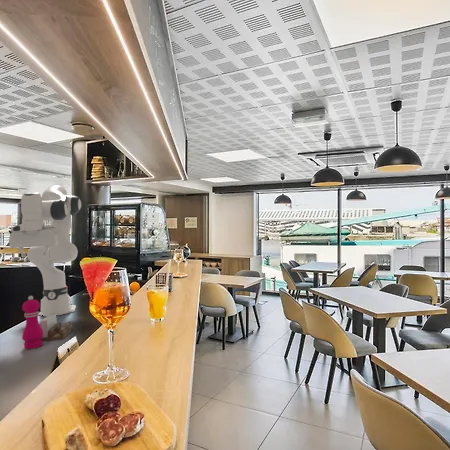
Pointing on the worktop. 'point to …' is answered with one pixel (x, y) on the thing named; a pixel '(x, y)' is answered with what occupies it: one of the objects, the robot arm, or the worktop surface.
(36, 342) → the pepper mill
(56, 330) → the walnut rack
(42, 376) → the worktop surface
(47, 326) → the clay strip
